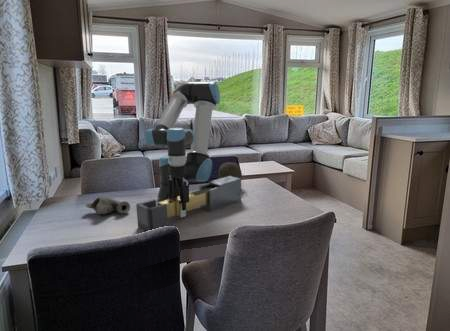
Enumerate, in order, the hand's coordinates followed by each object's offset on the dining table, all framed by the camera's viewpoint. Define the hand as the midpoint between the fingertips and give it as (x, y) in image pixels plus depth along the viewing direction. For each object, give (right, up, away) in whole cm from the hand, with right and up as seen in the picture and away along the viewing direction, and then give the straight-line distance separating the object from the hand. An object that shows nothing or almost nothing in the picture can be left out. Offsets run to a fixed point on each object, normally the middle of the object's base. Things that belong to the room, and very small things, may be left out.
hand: (179, 214), depth 145 cm
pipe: (-34, -1, +7) cm, 35 cm away
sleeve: (+18, +3, +17) cm, 25 cm away
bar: (+5, +3, +4) cm, 7 cm away
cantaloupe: (+23, +9, +43) cm, 50 cm away
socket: (-10, -4, -9) cm, 14 cm away
